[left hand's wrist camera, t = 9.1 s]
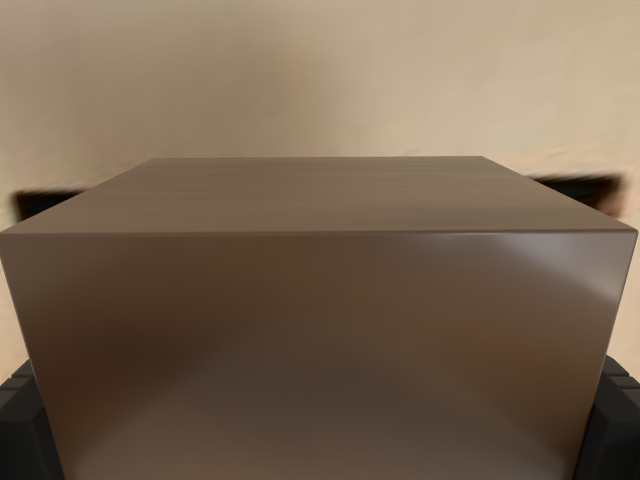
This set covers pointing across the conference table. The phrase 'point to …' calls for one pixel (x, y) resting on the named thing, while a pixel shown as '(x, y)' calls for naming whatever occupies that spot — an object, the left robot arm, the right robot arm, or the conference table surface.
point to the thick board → (318, 320)
